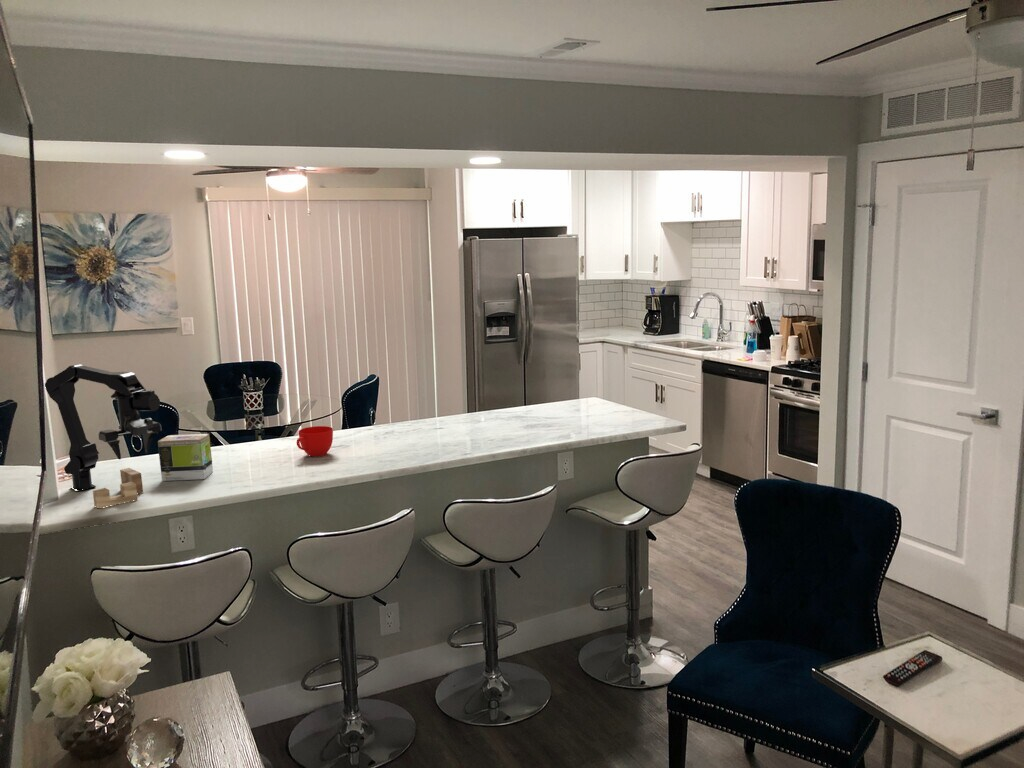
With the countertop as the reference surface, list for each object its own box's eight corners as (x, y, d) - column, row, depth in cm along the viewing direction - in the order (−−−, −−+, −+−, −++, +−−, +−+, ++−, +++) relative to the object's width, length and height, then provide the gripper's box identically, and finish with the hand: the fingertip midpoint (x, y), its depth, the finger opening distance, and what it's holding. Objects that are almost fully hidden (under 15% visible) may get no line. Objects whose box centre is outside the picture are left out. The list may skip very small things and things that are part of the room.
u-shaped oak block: (94, 507, 255) (92, 490, 254) (133, 498, 264) (131, 481, 263) (98, 509, 253) (96, 492, 252) (137, 500, 261) (135, 483, 260)
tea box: (213, 472, 292) (210, 432, 290) (204, 480, 282) (200, 439, 280) (171, 473, 292) (167, 434, 289) (160, 481, 282) (156, 440, 279)
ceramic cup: (285, 459, 307) (283, 434, 305) (315, 449, 322) (314, 425, 320) (311, 463, 301) (310, 437, 299) (341, 452, 316) (339, 427, 314)
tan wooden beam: (122, 489, 274) (120, 469, 273) (131, 487, 276) (129, 467, 275) (134, 495, 267) (131, 474, 266) (143, 493, 269) (141, 473, 268)
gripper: (110, 418, 255) (116, 466, 257) (167, 408, 269) (172, 453, 271) (95, 414, 262) (100, 461, 264) (151, 404, 276) (156, 449, 278)
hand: (133, 456), depth 269 cm, fingers open, 9 cm apart
